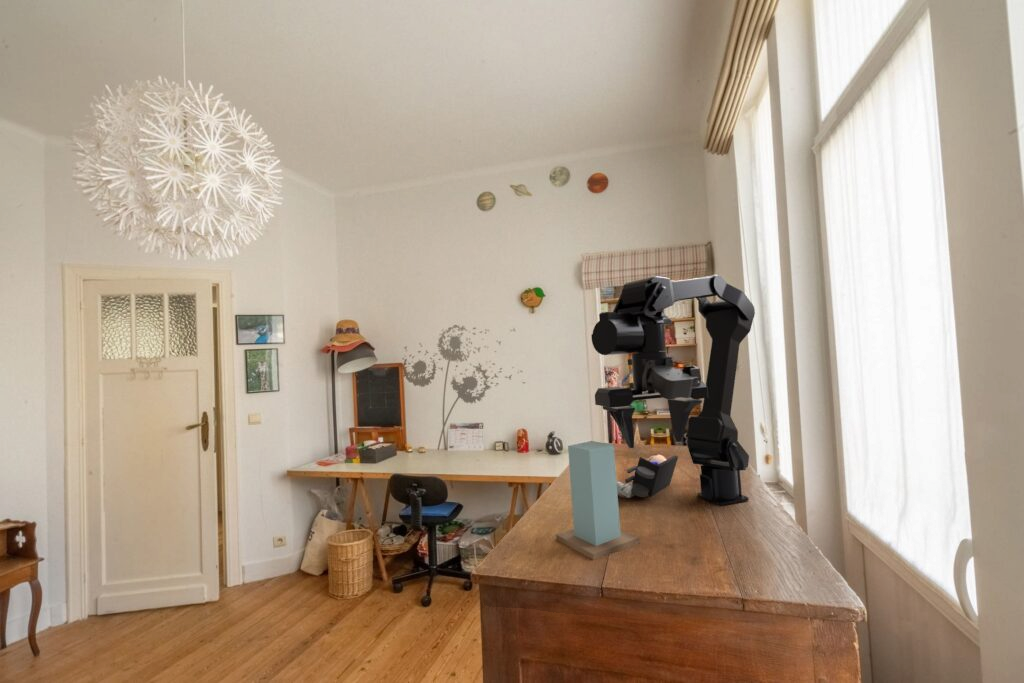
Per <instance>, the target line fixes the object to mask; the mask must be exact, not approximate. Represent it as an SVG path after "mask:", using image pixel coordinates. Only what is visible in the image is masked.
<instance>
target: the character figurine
mask: <svg viewBox="0 0 1024 683" xmlns="http://www.w3.org/2000/svg"><path fill="white" fill-rule="evenodd" d="M678 459H679V456H678V455H674V456H672V457H669V458H667V457H666V456H664V455H662V454H654V455H651V456H649V457H648V458H647V459H645V458H643V457H641V456H640V457H639V459H638V463H637V465H634V466H631V467H630V468H627V469H626V473H627V474H631V473H633V472H634V474H633V475H631V476H629V477H627V478H624V482H625V484H629V483H631V482H632V489H631V493H632V494H634V496H637V497H641V498H646V497H649V498H652V497H653V496H655V495H657V494H658V493H659V492H661V491H663V490H664V489H666V488H668V487H669V486H670V485H671V483H672V480H673V479H672V478H673V476H674V472H675V467H676V465H677V461H678Z"/></svg>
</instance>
